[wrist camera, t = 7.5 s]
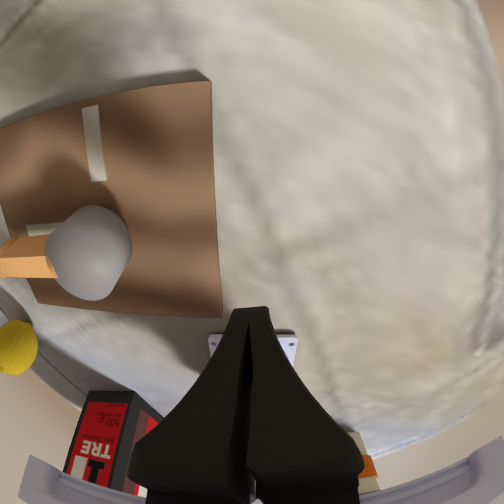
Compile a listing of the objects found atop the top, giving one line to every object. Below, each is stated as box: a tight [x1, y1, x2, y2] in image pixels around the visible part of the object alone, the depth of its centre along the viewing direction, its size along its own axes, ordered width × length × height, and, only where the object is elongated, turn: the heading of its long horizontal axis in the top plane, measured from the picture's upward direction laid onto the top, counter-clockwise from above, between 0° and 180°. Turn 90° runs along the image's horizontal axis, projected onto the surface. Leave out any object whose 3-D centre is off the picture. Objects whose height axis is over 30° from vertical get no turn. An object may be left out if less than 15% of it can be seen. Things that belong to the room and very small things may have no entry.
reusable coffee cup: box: [347, 432, 380, 496], centre depth 35 cm, size 13×13×15 cm
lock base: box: [0, 81, 223, 318], centre depth 18 cm, size 17×19×3 cm
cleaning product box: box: [63, 391, 164, 498], centre depth 28 cm, size 16×9×20 cm, turn 17°
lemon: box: [0, 320, 38, 375], centre depth 23 cm, size 6×6×8 cm
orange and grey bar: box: [0, 205, 132, 301], centre depth 15 cm, size 12×5×3 cm, turn 93°
